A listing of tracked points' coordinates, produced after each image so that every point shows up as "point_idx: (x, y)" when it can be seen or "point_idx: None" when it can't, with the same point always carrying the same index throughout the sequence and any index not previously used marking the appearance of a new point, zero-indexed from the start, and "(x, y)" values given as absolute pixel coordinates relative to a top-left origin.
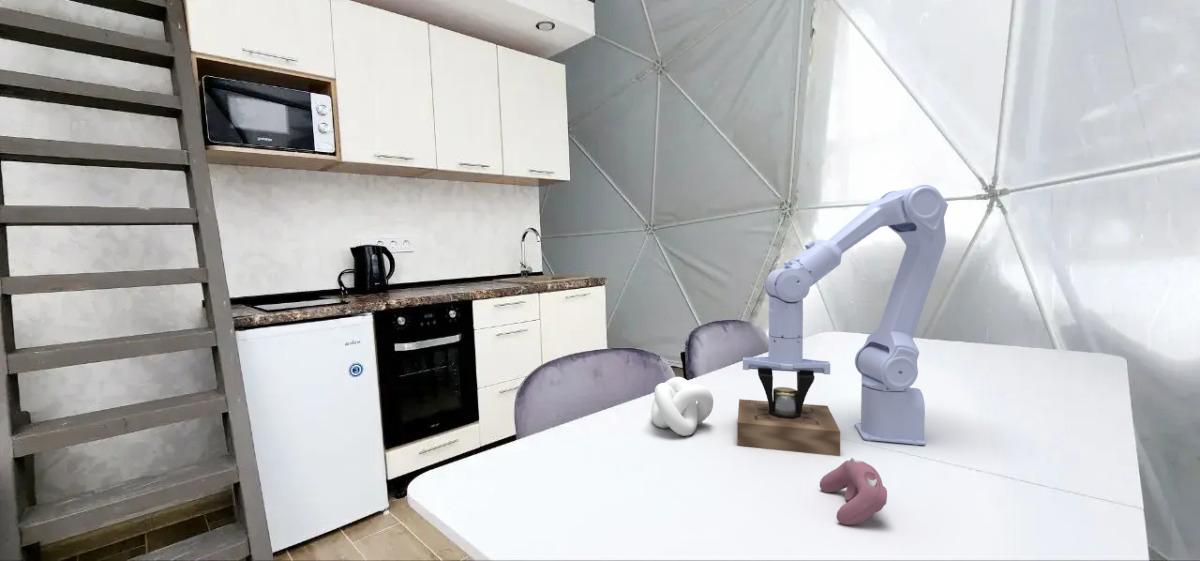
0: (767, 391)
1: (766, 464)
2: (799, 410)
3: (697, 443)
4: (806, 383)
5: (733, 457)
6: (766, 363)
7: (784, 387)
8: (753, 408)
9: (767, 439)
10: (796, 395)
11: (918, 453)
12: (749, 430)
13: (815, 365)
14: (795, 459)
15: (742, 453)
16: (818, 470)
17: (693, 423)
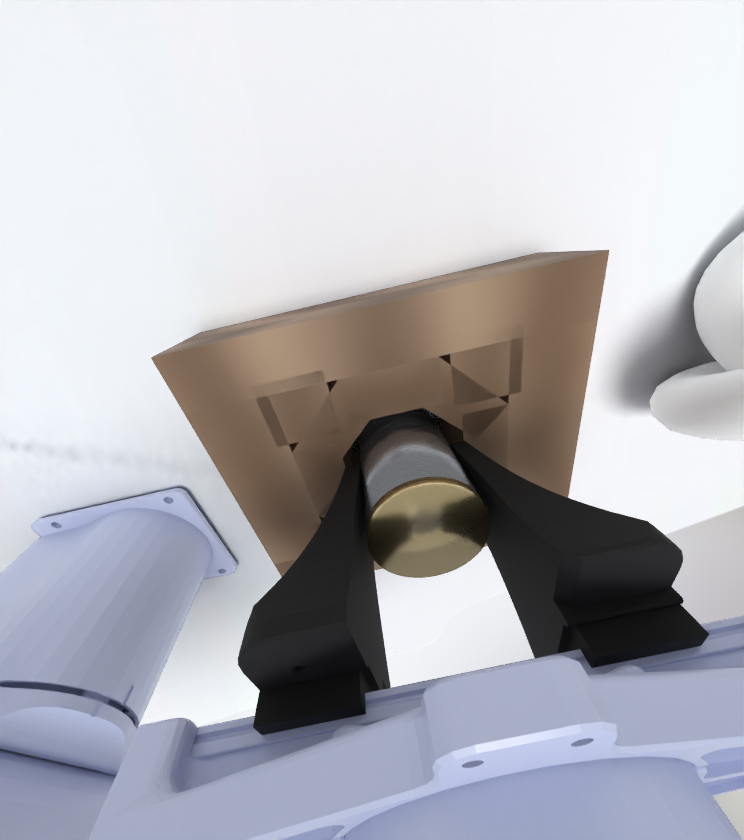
0: (523, 486)
1: (424, 74)
2: (350, 472)
3: (690, 197)
4: (302, 583)
5: (561, 92)
6: (738, 708)
7: (435, 572)
8: (519, 467)
9: (444, 279)
10: (367, 518)
11: (24, 465)
12: (531, 263)
13: (203, 823)
14: (325, 212)
15: (522, 170)
16: (218, 121)
17: (742, 282)
